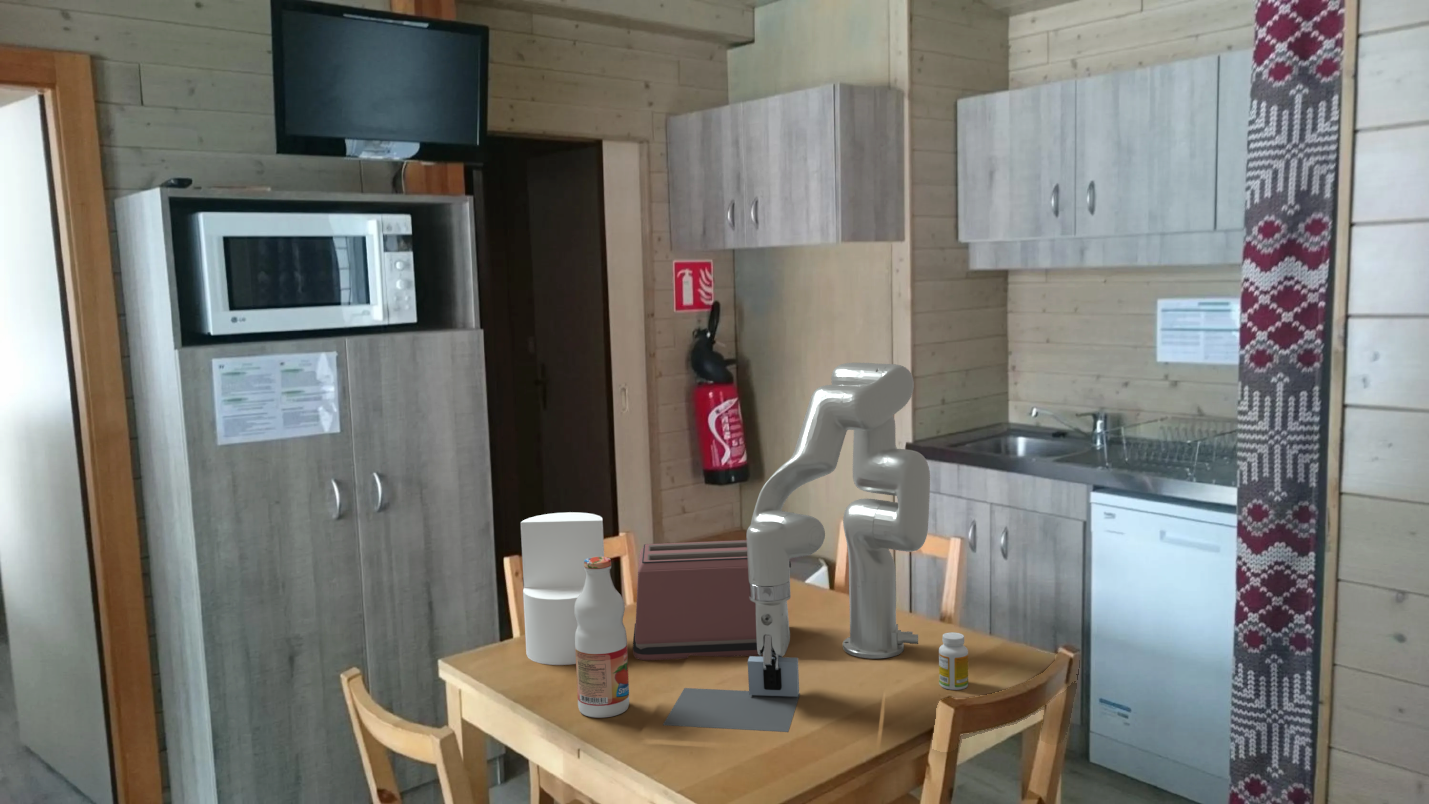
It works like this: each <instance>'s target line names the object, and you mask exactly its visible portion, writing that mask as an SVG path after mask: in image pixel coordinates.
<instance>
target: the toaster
mask: <svg viewBox="0 0 1429 804" xmlns="http://www.w3.org/2000/svg"><path fill="white" fill-rule="evenodd" d="M791 567H792V564H791V561H790V560H789V569H790V568H791ZM635 608H636V609H635V623H634V630H633V639H632V640H633V641H632V653H633V657H634V658H635V659H637V660H640V661H662V660H685V659H686V660H687V659H688V658H689V656H696V657H697V656H700V657H721V658H722V657H725V658H730V657H733V658H734V657H750V656H754V657H759V656H760V655H759V654H758V651H757V639H756V615H755V613H756V604H755V602H752V601H751V600H750V598H749V576H748V557H747V539H740V540H739V539H738V540H737V539H736V540H714V541H691V542H690V541H689V542H688V541H687V542H665V543H662V542H661V543H660V542H659V543H645V544H643V546H642V548H641V549H640V551H639V560H638V567H637V584H636V606H635ZM762 656H763V654H762Z"/></svg>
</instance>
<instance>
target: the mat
mask: <svg viewBox="0 0 1429 804" xmlns="http://www.w3.org/2000/svg"><path fill="white" fill-rule="evenodd" d="M800 695H801V693H800V692H799V694H798V697H795V696H765V695H749V690H733V689H718V688H717V689H712V688H698V687H697V688H692V687H684V688H683V690H682V691H681V692H680V694H679V696H678V698H677V700H676V701H675V704H674V705H673V707H672V708H671V710H670V712H669V713H668V715H667V717H666V718H665V720H664V722H663V724H662V726H667V727H668V726H670V727H689V728H704V729H705V728H706V729H707V728H708V729H723V730H724V729H726V730H744V731H760V732H780V733H789V731H790V727H791V725H792V722H793V718H794V714H795V711H796V708H797V705H798V702H799V699H800Z"/></svg>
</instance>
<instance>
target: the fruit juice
mask: <svg viewBox="0 0 1429 804" xmlns="http://www.w3.org/2000/svg"><path fill="white" fill-rule="evenodd" d="M584 569H585V570H586V580H585V584H584V587H583V590H582V592H581V593H580V595H579V596H578V598H577V599H576V602H575V606H574V612H575V616H576V619H577V623H578V626H577V629H576V633H575V651H576V664H575V668H576V669H575V670H576V690H577V707H578V710H579V712H580V714H581V715H584V716H586V717H589V718H596V719H598V718H602V719H603V718H610V717H611V718H612V717H615V716H619V715H621V714H623V713H625V712H626V711H627V710H628V708H629V706H630V684H629V682H630V680H629V660H628V638H627V630H626V627H625V625H624V622H623V619H624V616H625V609H626V607H625V600H624V598H623V596H622V595H621V594H620V593H619V591H618V590H617V589H616V587H615V586H614V583H613V580H612V577H611V569H612V560H611V558H610V557H609V556H608V557H607V556H604V557H591V558H588V559H586V560H585V561H584Z"/></svg>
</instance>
